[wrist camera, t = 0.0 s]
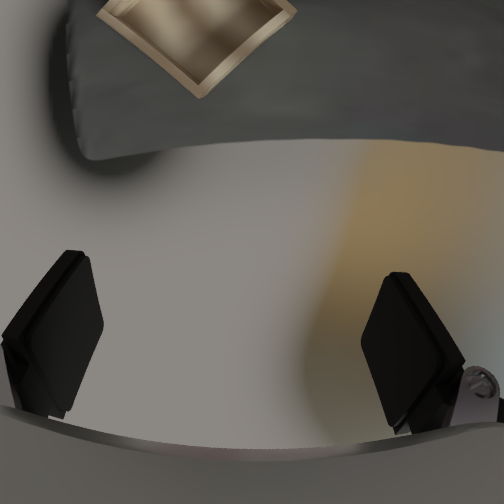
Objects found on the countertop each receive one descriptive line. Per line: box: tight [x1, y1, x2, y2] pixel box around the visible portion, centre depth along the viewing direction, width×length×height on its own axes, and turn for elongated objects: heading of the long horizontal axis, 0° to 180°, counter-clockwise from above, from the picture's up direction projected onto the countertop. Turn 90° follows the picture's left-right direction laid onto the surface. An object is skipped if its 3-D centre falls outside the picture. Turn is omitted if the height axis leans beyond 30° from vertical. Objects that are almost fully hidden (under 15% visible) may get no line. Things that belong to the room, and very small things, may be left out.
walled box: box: [96, 0, 297, 99], centre depth 26 cm, size 14×16×6 cm
